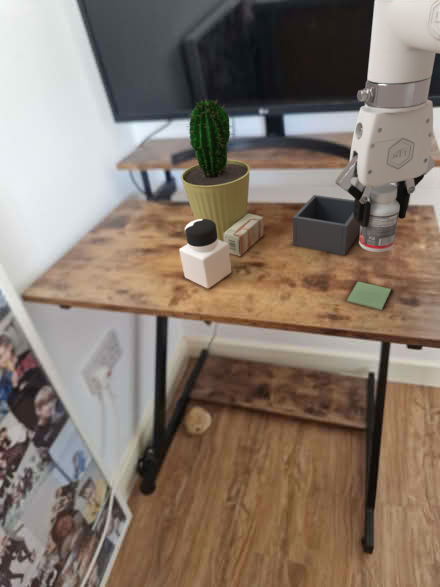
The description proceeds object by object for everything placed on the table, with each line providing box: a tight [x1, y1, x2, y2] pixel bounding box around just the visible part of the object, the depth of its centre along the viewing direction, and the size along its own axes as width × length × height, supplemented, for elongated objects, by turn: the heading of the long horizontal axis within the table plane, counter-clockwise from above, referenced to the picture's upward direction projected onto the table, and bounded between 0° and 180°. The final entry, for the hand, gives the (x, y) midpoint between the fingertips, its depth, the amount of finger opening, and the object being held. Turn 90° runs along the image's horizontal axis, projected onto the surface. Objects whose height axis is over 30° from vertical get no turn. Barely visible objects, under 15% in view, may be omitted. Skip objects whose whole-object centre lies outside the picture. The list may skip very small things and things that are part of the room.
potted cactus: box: [180, 98, 251, 242], centre depth 89 cm, size 15×15×30 cm
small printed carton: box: [223, 212, 265, 257], centre depth 90 cm, size 5×4×10 cm
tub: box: [292, 194, 361, 256], centre depth 88 cm, size 12×12×7 cm
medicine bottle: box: [178, 219, 232, 289], centre depth 80 cm, size 7×7×12 cm
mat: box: [346, 281, 392, 311], centre depth 72 cm, size 6×6×1 cm
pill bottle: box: [358, 183, 400, 253], centre depth 63 cm, size 5×5×10 cm
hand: (379, 217), depth 63 cm, fingers closed on pill bottle, 5 cm apart
